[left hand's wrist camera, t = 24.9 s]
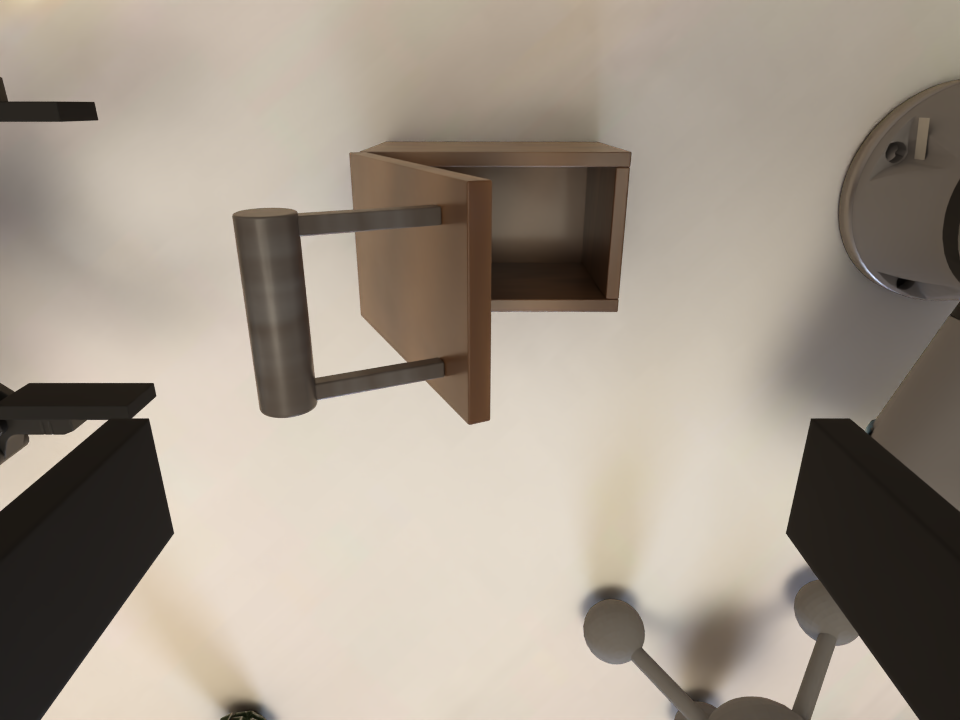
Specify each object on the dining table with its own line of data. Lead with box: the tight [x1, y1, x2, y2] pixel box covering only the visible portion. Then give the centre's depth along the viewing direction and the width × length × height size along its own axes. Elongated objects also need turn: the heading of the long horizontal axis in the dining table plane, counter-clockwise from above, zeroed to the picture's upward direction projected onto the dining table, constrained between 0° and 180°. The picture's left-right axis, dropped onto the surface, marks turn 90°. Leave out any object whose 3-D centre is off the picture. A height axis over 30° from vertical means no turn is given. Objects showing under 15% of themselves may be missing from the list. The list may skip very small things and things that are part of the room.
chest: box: [361, 142, 631, 312], centre depth 42 cm, size 15×9×10 cm, turn 90°
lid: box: [232, 152, 492, 425], centre depth 28 cm, size 16×9×8 cm
